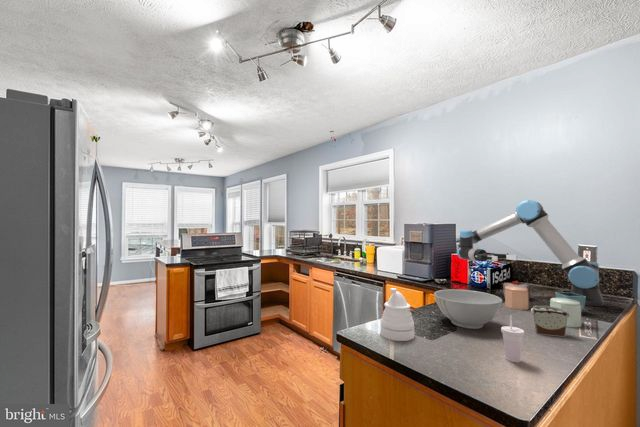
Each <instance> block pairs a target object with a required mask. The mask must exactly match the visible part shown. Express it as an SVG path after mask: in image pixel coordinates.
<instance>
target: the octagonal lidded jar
mask: <svg viewBox="0 0 640 427" xmlns="http://www.w3.org/2000/svg"><path fill="white" fill-rule="evenodd" d="M504 305H505V308H509V309H512V310H520V311H524V310H525V311H526V310H529V300H528V289H527V288H524V287H518V286H505V297H504Z"/></svg>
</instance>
